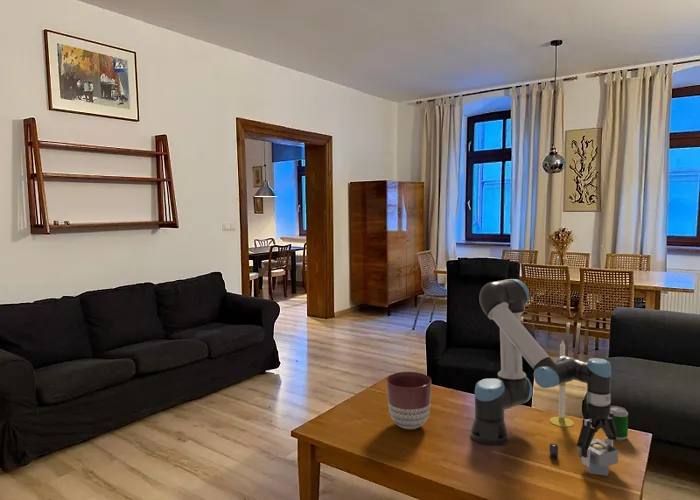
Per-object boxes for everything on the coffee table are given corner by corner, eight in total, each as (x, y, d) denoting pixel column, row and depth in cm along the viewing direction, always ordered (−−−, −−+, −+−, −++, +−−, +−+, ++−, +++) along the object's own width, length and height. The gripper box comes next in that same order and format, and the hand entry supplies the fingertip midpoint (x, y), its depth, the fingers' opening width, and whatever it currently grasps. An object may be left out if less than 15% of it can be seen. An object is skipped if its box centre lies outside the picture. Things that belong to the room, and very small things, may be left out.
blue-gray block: (589, 473, 172) (589, 449, 172) (586, 464, 178) (587, 441, 177) (608, 475, 171) (608, 451, 170) (604, 466, 176) (605, 443, 175)
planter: (381, 432, 207) (380, 384, 205) (394, 414, 225) (393, 369, 223) (426, 440, 200) (425, 390, 198) (436, 420, 218) (435, 374, 216)
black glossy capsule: (549, 458, 183) (550, 446, 183) (549, 454, 186) (549, 442, 186) (558, 459, 182) (558, 447, 182) (557, 455, 185) (557, 443, 185)
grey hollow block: (598, 468, 168) (599, 454, 168) (578, 456, 176) (578, 443, 176) (617, 463, 171) (618, 449, 171) (596, 451, 180) (596, 438, 179)
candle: (564, 416, 219) (565, 335, 215) (579, 425, 209) (580, 341, 206) (544, 418, 217) (545, 337, 213) (558, 428, 207) (559, 343, 203)
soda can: (630, 442, 194) (631, 413, 193) (609, 440, 195) (610, 412, 194) (623, 433, 201) (624, 405, 200) (604, 432, 203) (604, 404, 201)
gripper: (585, 413, 163) (584, 474, 165) (629, 399, 174) (628, 456, 176) (566, 405, 170) (565, 464, 172) (610, 392, 181) (609, 447, 183)
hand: (597, 460), depth 174 cm, fingers open, 12 cm apart
